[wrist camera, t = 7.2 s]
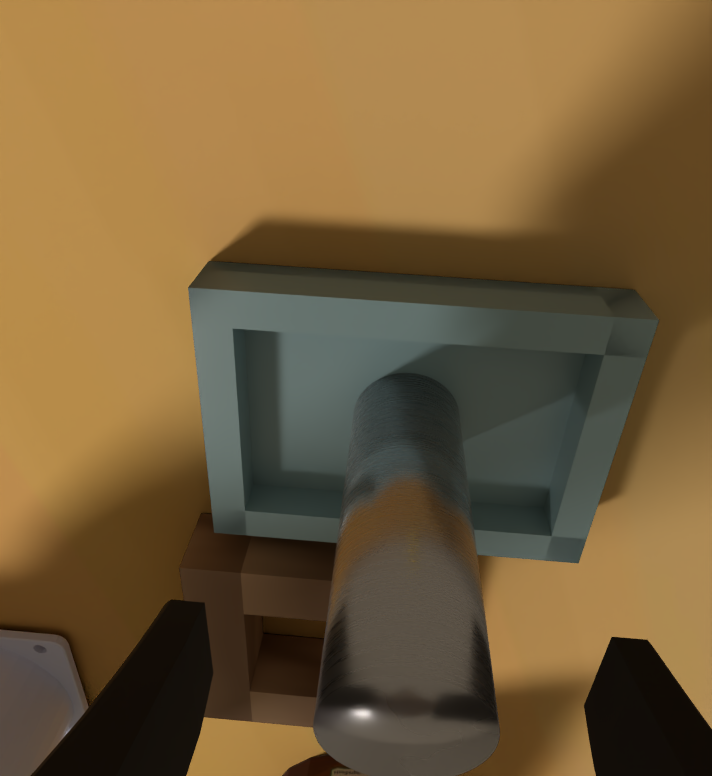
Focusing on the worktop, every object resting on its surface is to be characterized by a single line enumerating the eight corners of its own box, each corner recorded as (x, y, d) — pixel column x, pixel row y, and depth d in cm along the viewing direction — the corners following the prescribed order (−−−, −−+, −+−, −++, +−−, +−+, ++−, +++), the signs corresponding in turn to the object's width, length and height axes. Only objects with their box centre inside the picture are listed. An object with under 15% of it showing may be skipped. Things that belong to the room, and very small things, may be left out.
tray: (228, 493, 20) (213, 532, 19) (208, 260, 16) (188, 287, 15) (565, 520, 20) (578, 563, 19) (635, 289, 16) (659, 320, 14)
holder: (218, 659, 25) (201, 716, 23) (201, 513, 21) (179, 567, 19) (415, 677, 25) (416, 737, 23) (437, 533, 21) (441, 590, 19)
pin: (349, 454, 18) (310, 771, 11) (357, 367, 17) (316, 666, 9) (450, 464, 18) (481, 790, 11) (467, 378, 17) (517, 688, 9)
